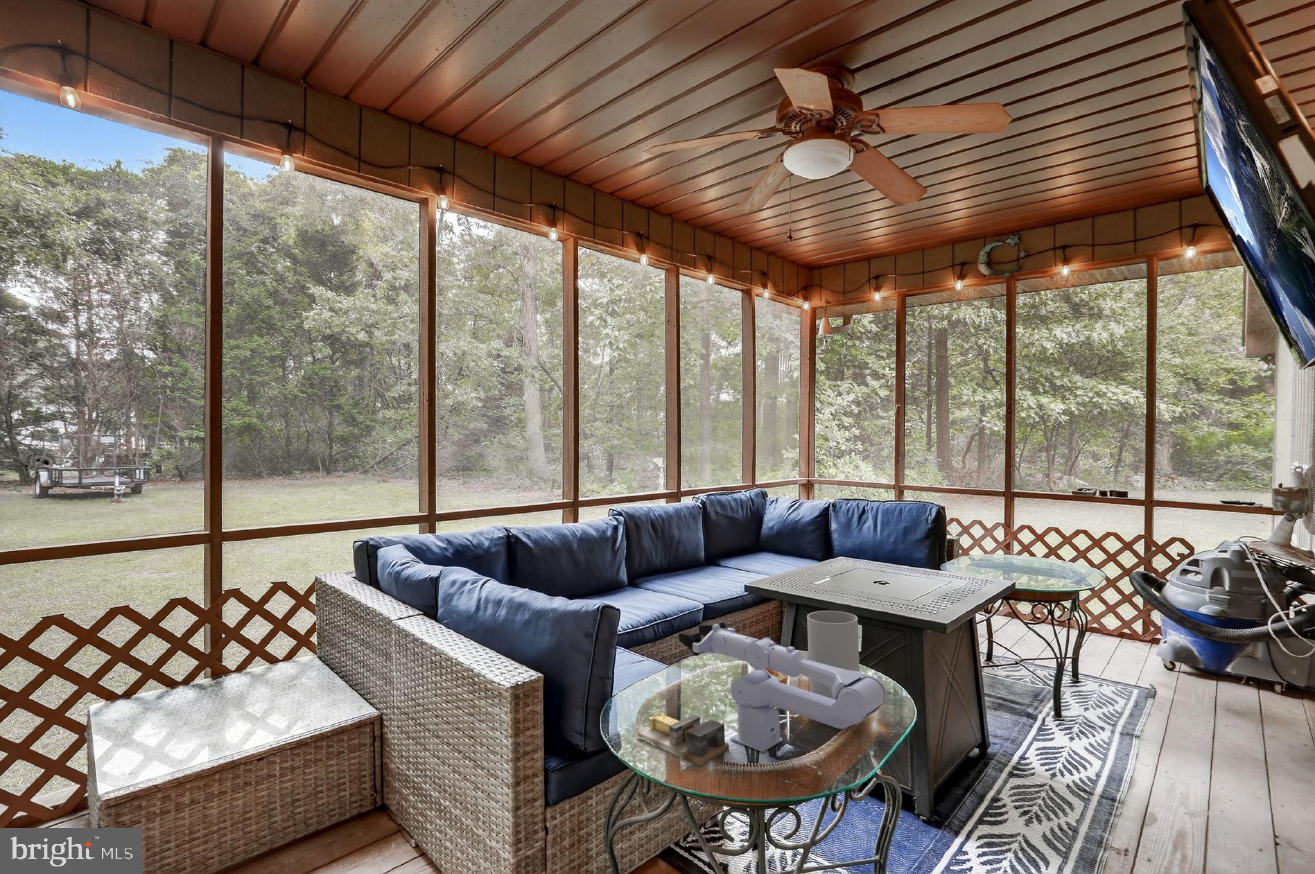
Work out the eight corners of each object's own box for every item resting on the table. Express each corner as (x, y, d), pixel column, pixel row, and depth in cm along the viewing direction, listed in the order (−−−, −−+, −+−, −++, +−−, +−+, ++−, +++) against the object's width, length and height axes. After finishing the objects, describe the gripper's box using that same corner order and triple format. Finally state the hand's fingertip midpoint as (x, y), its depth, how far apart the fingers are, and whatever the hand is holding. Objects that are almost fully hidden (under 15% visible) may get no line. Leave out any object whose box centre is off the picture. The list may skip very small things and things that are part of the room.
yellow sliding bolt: (697, 737, 150) (697, 726, 150) (684, 743, 147) (684, 732, 147) (661, 722, 158) (661, 712, 159) (648, 728, 155) (648, 717, 155)
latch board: (729, 750, 147) (728, 723, 147) (699, 766, 140) (698, 738, 140) (667, 725, 161) (666, 700, 161) (637, 738, 154) (637, 713, 154)
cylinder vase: (830, 729, 156) (826, 626, 156) (800, 710, 168) (797, 614, 168) (871, 719, 161) (868, 619, 161) (839, 702, 172) (836, 608, 173)
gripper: (748, 620, 161) (707, 610, 171) (711, 636, 151) (670, 625, 160) (749, 648, 161) (708, 637, 171) (713, 666, 151) (671, 652, 161)
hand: (689, 633), depth 166 cm, fingers open, 7 cm apart
